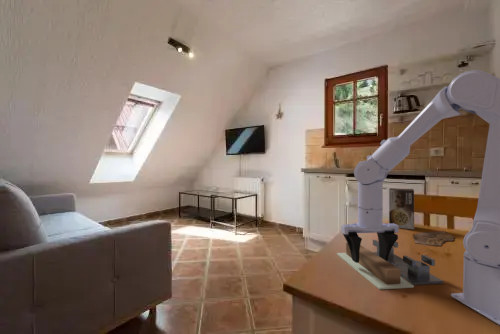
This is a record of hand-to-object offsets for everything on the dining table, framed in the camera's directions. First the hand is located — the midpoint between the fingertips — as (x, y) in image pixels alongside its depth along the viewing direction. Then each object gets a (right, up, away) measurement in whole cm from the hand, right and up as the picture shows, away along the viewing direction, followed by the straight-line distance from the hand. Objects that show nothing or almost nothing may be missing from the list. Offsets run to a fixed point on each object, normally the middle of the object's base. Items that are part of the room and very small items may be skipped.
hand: (369, 260), depth 62 cm
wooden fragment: (+36, -2, +26) cm, 44 cm away
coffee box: (+34, -2, +41) cm, 53 cm away
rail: (0, -2, 0) cm, 2 cm away
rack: (+8, -2, +1) cm, 9 cm away
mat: (0, -2, 0) cm, 2 cm away
